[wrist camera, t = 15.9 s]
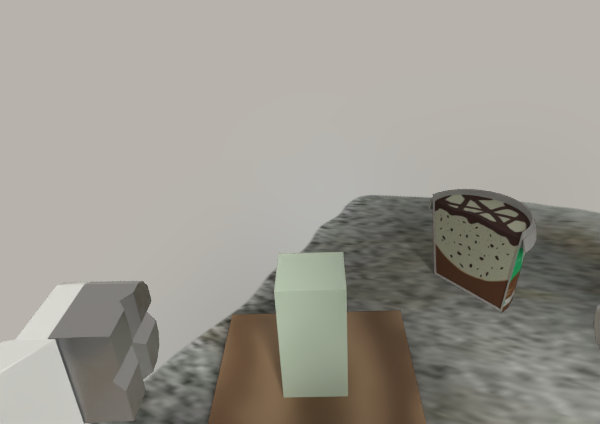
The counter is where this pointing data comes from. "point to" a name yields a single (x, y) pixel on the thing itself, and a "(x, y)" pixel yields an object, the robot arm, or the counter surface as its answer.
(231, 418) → the walnut base
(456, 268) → the food container
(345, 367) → the sage block
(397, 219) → the counter surface
